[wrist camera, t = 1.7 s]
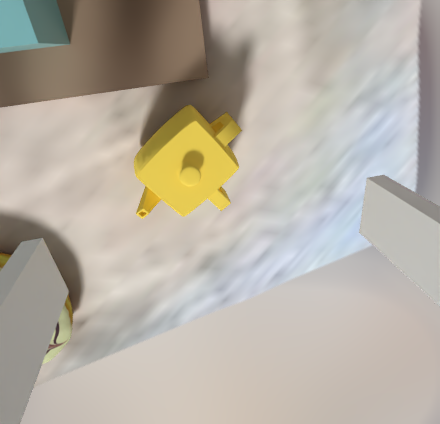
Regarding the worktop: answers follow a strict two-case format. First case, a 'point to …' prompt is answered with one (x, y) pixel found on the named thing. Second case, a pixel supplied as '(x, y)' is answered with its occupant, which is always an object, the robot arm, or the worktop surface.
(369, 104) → the worktop surface
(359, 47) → the worktop surface
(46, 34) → the base brick
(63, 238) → the worktop surface
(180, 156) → the teapot
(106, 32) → the walnut board
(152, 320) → the worktop surface
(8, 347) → the robot arm
